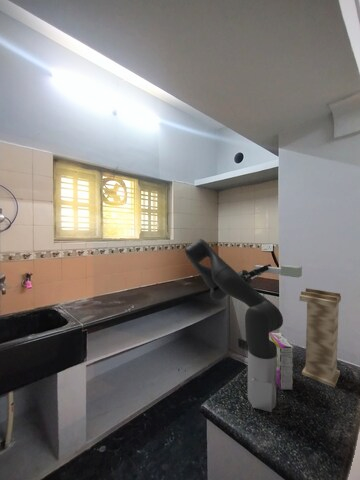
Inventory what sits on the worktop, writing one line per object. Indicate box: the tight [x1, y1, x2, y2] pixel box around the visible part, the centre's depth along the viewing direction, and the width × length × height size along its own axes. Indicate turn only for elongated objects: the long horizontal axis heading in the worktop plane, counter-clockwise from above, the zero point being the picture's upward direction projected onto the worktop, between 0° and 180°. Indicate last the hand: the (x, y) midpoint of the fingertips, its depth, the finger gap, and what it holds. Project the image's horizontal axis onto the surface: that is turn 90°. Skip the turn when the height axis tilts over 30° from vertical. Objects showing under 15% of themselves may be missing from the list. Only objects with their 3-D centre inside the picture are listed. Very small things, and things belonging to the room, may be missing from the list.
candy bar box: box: [269, 332, 294, 391], centre depth 86 cm, size 11×5×16 cm, turn 179°
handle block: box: [253, 264, 303, 279], centre depth 100 cm, size 20×5×4 cm, turn 46°
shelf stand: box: [298, 287, 342, 389], centre depth 89 cm, size 12×11×33 cm
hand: (269, 266), depth 102 cm, fingers closed on handle block, 3 cm apart
